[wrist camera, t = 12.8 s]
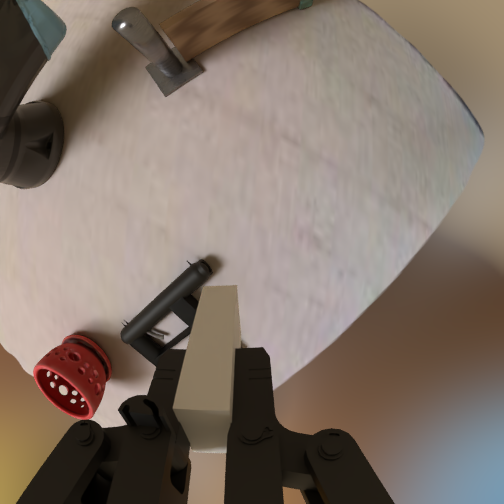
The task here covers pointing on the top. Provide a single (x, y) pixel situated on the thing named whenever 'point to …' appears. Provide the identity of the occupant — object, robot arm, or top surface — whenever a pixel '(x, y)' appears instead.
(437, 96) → the top surface
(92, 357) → the plant pot
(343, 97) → the top surface
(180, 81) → the hinge post
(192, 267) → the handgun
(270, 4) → the wooden board
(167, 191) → the top surface
